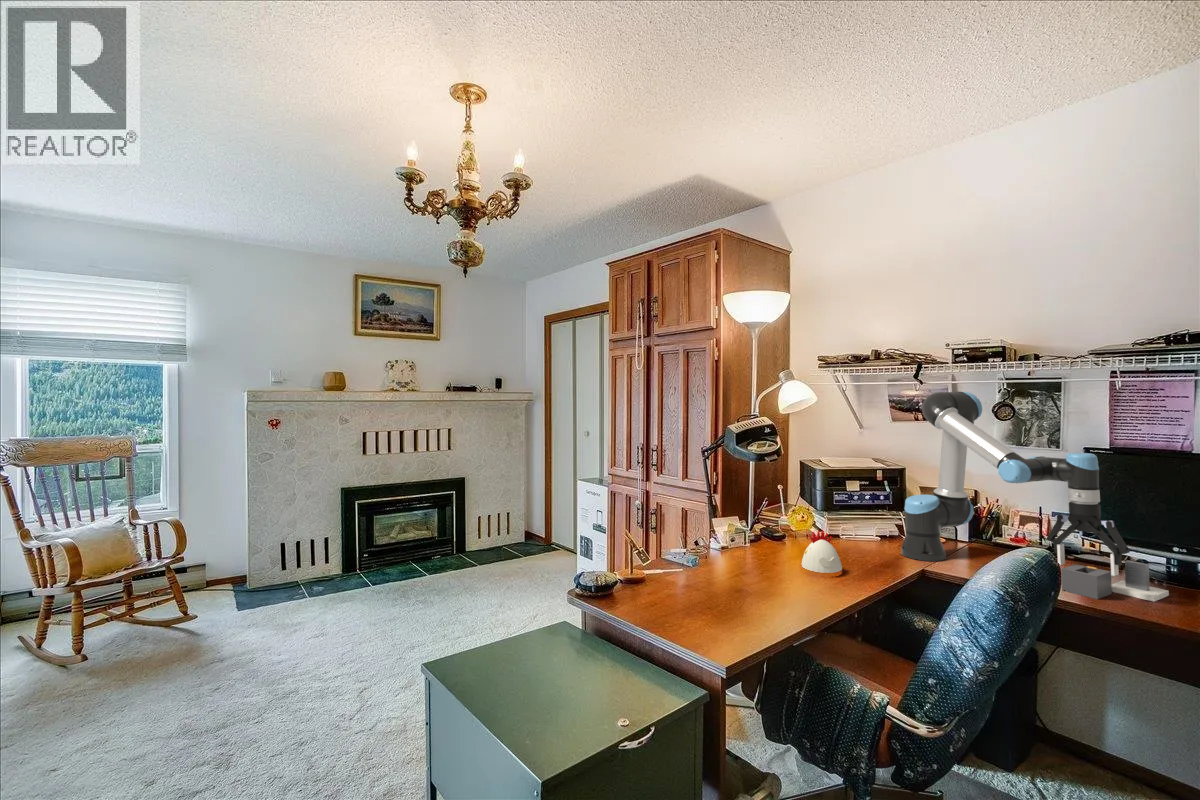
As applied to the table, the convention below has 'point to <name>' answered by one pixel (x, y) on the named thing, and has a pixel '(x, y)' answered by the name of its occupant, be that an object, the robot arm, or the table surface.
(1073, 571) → the gray slotted block
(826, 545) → the kitchen timer
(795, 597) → the table surface
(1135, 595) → the shaft stand
